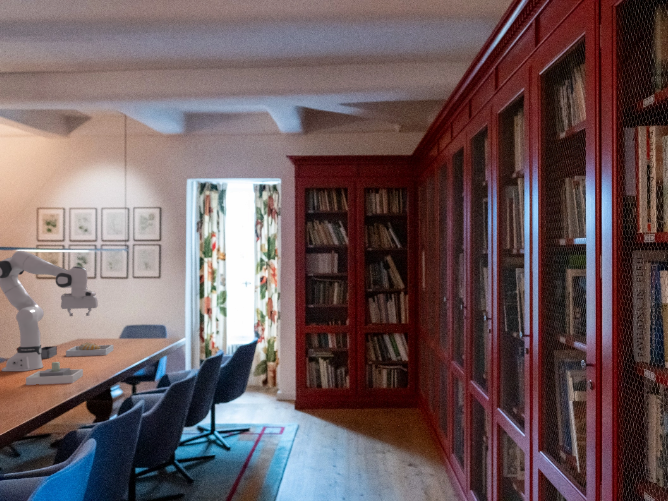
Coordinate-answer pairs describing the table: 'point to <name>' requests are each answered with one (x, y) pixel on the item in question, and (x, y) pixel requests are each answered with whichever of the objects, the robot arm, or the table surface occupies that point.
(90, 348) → the nautilus
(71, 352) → the shell tray
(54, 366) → the peg
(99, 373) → the table surface
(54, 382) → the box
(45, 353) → the dark grey open bin
